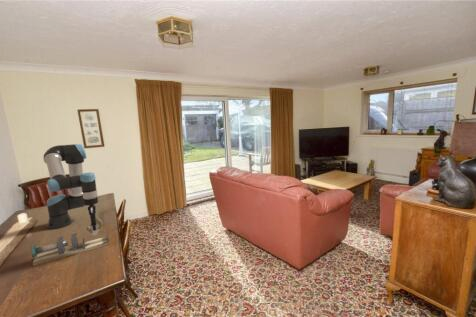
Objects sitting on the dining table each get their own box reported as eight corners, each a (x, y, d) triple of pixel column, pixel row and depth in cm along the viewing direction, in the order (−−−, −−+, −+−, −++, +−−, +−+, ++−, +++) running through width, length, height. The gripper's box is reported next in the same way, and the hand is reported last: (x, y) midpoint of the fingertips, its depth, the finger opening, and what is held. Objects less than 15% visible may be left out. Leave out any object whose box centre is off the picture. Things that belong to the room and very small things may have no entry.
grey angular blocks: (60, 250, 134) (58, 236, 133) (108, 238, 148) (106, 225, 147) (58, 258, 126) (56, 243, 125) (109, 244, 140) (107, 230, 139)
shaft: (32, 259, 121) (30, 248, 120) (34, 254, 126) (32, 244, 125) (67, 250, 130) (66, 239, 129) (68, 245, 135) (67, 235, 134)
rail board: (36, 257, 128) (36, 254, 128) (108, 238, 148) (108, 236, 148) (33, 265, 120) (32, 263, 120) (109, 244, 140) (109, 242, 140)
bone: (85, 235, 133) (85, 218, 137) (86, 236, 138) (87, 220, 142) (101, 232, 137) (101, 216, 141) (102, 234, 142) (102, 218, 146)
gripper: (83, 195, 142) (88, 228, 145) (82, 203, 126) (87, 240, 129) (97, 193, 146) (101, 225, 149) (98, 200, 130) (102, 236, 133)
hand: (95, 232), depth 139 cm, fingers closed on bone, 7 cm apart
